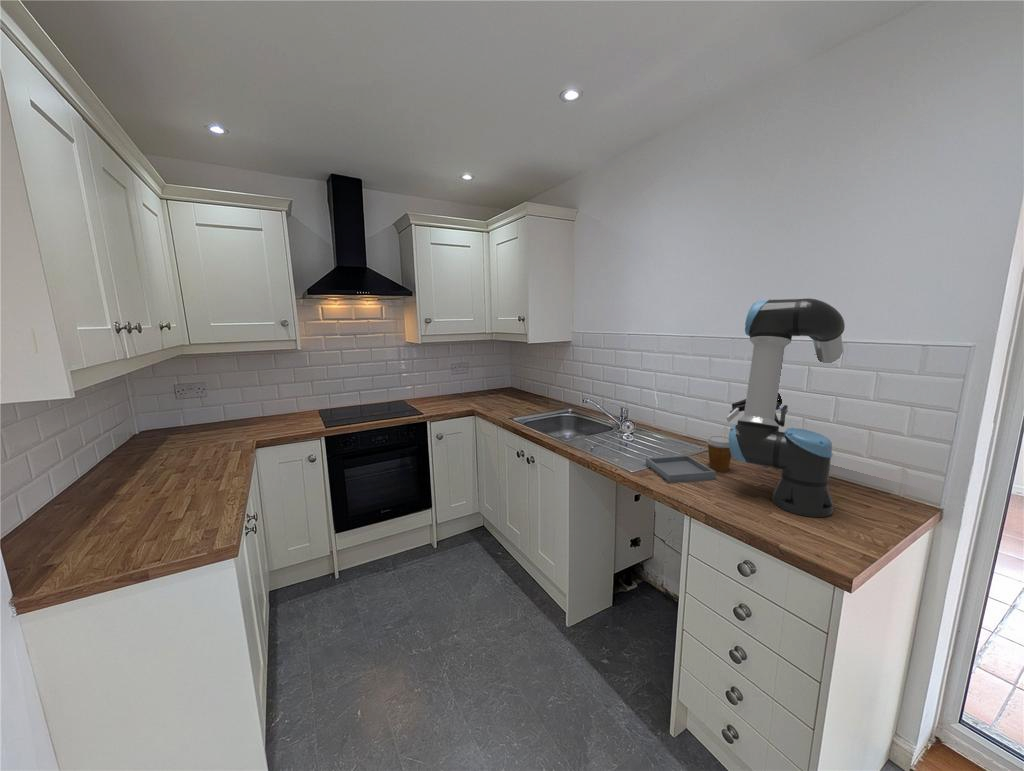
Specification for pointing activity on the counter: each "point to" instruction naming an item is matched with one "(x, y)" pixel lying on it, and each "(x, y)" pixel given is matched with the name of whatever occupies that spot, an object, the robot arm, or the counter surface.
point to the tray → (680, 469)
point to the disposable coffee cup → (719, 453)
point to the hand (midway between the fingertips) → (744, 425)
